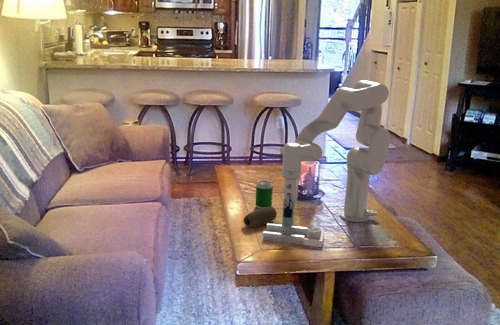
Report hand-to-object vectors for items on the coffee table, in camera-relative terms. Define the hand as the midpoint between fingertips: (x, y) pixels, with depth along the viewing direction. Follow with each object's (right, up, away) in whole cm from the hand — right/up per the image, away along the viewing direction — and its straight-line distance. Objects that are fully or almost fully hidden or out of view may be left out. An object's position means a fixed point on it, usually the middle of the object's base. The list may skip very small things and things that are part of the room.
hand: (289, 213), depth 209 cm
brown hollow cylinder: (-12, -5, +4) cm, 14 cm away
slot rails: (-2, -9, -8) cm, 12 cm away
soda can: (-10, 0, +23) cm, 25 cm away
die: (+9, -10, -11) cm, 17 cm away
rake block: (0, -6, +2) cm, 6 cm away
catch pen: (+8, -10, -10) cm, 16 cm away
